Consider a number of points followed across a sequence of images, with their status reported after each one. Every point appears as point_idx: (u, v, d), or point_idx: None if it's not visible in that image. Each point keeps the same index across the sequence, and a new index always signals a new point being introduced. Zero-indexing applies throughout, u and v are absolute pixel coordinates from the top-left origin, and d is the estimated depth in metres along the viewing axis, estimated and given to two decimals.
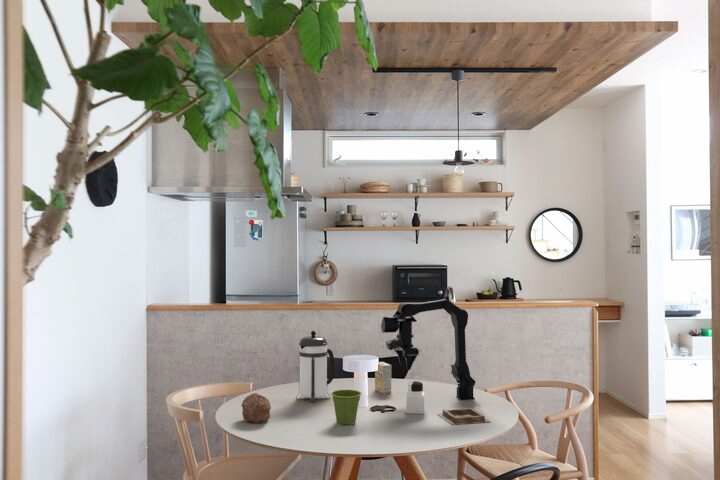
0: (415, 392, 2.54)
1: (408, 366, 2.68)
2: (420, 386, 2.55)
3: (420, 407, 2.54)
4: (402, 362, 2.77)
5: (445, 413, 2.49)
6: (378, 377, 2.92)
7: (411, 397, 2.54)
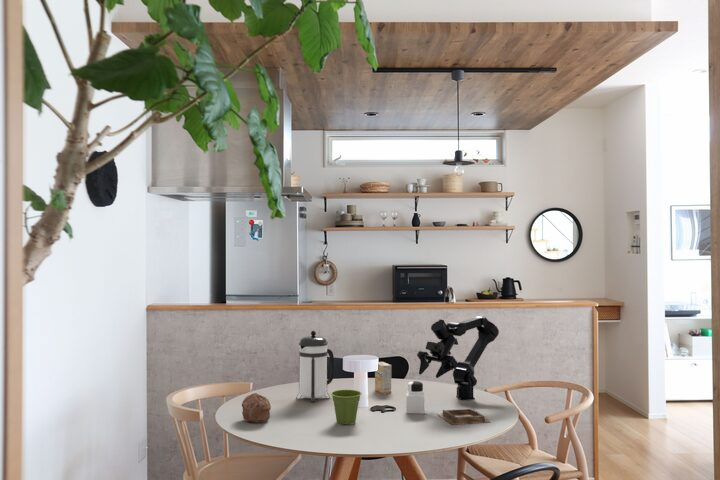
0: (415, 392, 2.54)
1: (439, 373, 2.60)
2: (420, 386, 2.55)
3: (420, 407, 2.54)
4: (422, 371, 2.67)
5: (445, 413, 2.49)
6: (378, 377, 2.91)
7: (411, 397, 2.54)
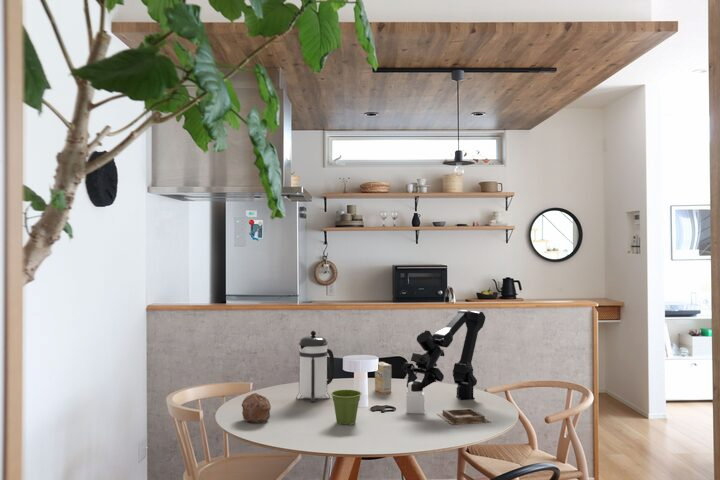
0: (415, 392, 2.54)
1: (422, 386, 2.54)
2: None
3: (420, 407, 2.54)
4: None
5: (445, 413, 2.49)
6: (378, 377, 2.91)
7: (411, 397, 2.54)
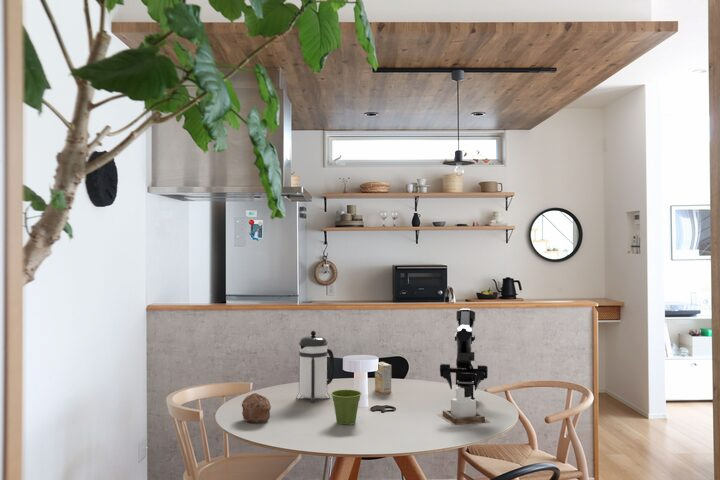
0: (468, 397, 2.45)
1: (477, 385, 2.46)
2: None
3: (473, 412, 2.46)
4: (451, 385, 2.48)
5: (445, 414, 2.49)
6: (378, 377, 2.91)
7: (466, 403, 2.44)
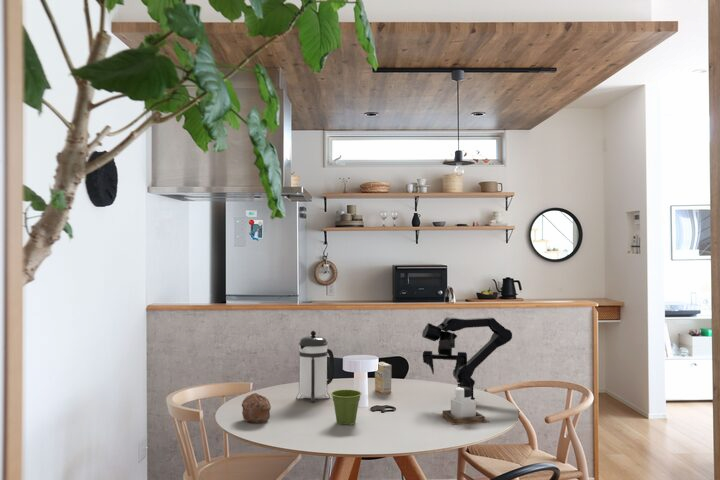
0: (468, 398, 2.45)
1: (456, 370, 2.66)
2: (470, 391, 2.47)
3: (472, 412, 2.45)
4: (433, 370, 2.68)
5: (445, 414, 2.49)
6: (378, 377, 2.91)
7: (465, 403, 2.44)
